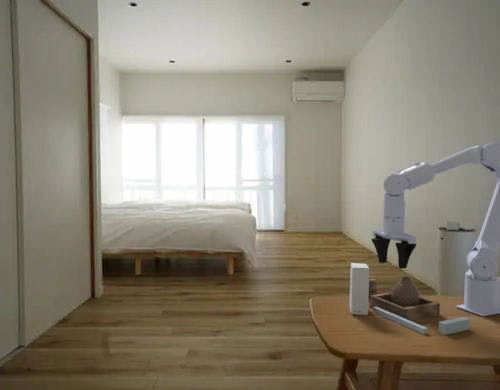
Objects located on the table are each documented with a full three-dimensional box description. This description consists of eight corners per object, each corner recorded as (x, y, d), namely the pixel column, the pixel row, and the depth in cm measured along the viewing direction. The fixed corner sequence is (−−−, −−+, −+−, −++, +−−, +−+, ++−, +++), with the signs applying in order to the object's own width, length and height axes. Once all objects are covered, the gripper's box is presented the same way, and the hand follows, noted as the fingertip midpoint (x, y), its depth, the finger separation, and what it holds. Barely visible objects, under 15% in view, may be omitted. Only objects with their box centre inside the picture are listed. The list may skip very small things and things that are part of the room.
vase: (420, 316, 100) (422, 282, 100) (391, 313, 102) (392, 279, 102) (417, 308, 107) (418, 275, 107) (390, 305, 109) (391, 273, 108)
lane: (407, 306, 109) (408, 297, 108) (469, 329, 92) (469, 319, 92) (373, 311, 103) (373, 302, 103) (431, 337, 87) (431, 326, 87)
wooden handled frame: (383, 294, 120) (383, 277, 119) (439, 315, 102) (440, 295, 102) (350, 298, 115) (351, 281, 114) (404, 321, 97) (404, 301, 96)
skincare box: (368, 315, 101) (369, 268, 100) (351, 314, 101) (352, 267, 101) (365, 308, 107) (366, 263, 106) (349, 306, 107) (350, 262, 107)
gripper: (365, 215, 118) (363, 261, 118) (402, 220, 105) (401, 272, 105) (383, 214, 121) (382, 259, 121) (422, 219, 108) (420, 269, 108)
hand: (392, 265), depth 114 cm, fingers open, 7 cm apart
